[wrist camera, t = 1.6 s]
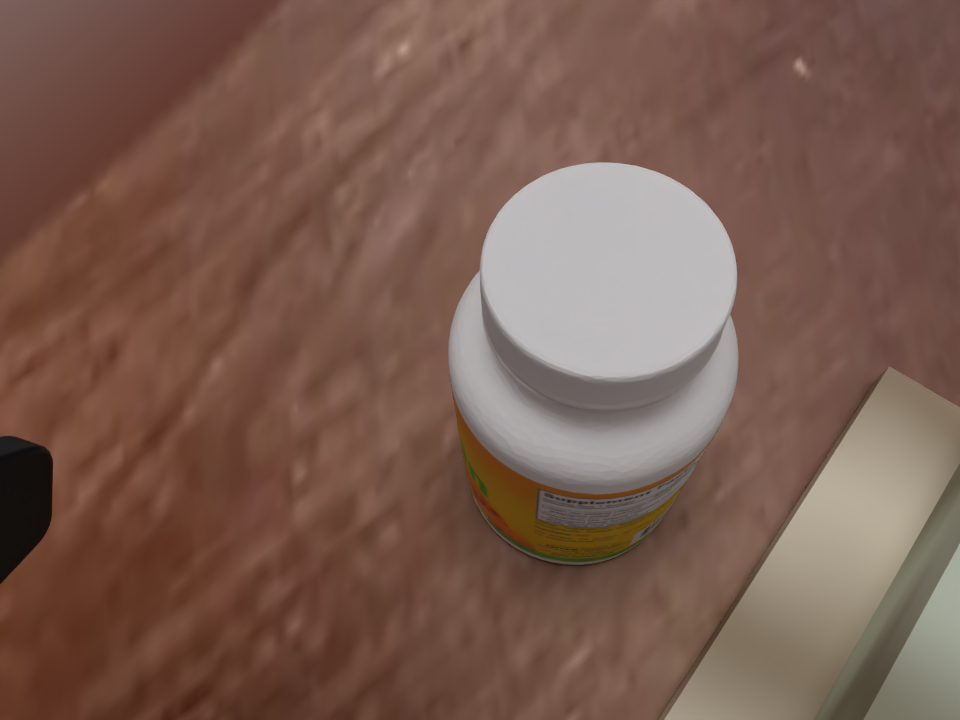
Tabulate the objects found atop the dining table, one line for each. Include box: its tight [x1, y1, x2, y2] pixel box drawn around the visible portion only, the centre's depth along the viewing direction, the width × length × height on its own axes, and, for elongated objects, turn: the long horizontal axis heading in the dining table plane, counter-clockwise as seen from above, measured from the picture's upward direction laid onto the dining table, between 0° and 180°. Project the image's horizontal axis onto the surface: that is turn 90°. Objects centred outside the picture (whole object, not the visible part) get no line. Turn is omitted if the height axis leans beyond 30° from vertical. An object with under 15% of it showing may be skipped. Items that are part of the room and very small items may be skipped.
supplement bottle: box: [448, 163, 738, 565], centre depth 17 cm, size 5×5×10 cm
